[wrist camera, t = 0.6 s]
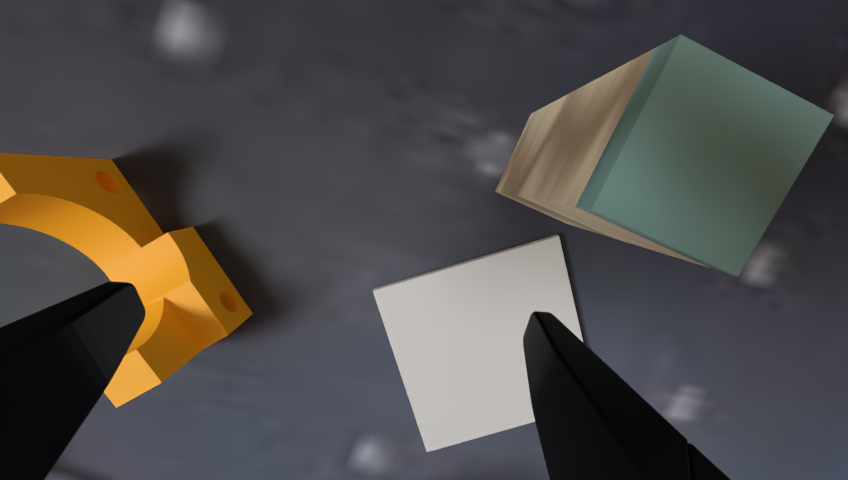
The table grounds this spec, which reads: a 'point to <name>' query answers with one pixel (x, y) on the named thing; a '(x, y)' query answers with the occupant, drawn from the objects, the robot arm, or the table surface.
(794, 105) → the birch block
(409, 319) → the grey pad
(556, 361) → the robot arm
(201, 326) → the pipe clamp
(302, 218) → the table surface
